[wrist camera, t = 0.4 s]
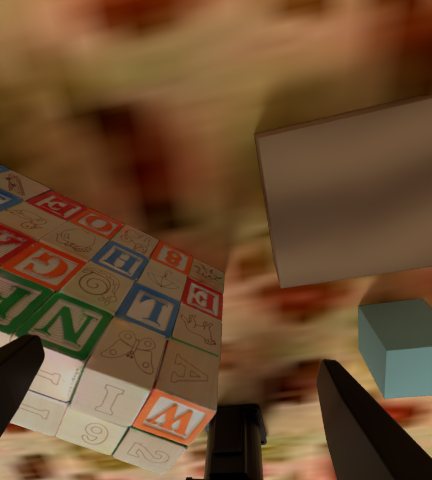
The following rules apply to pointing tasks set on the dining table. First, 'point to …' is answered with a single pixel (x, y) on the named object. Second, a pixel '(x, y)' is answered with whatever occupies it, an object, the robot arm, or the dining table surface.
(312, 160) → the walnut block
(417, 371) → the teal cube
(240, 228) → the dining table surface
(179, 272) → the stack of blocks
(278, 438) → the dining table surface
